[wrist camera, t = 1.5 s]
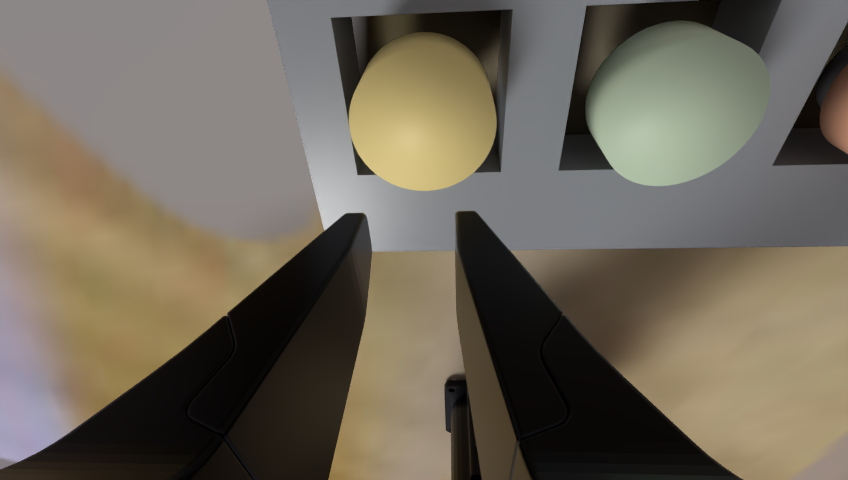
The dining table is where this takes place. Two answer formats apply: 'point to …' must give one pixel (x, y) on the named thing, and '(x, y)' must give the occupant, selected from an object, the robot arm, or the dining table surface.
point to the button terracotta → (834, 100)
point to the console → (576, 138)
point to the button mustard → (423, 112)
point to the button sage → (676, 102)
